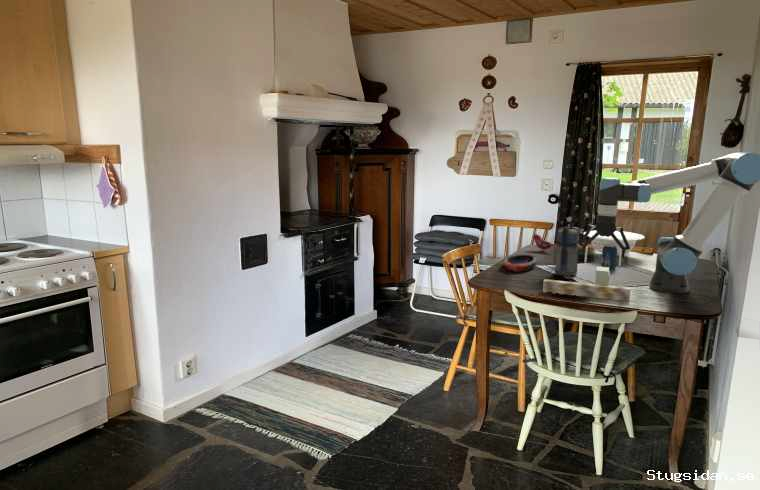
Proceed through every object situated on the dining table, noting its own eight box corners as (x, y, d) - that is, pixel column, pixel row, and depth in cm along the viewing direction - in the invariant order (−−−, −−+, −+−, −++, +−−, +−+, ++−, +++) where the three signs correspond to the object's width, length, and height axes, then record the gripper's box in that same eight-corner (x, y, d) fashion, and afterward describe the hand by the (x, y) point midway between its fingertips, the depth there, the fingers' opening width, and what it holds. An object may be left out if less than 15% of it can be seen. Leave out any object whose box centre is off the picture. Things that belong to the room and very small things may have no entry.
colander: (652, 257, 295) (654, 234, 292) (629, 266, 273) (631, 242, 271) (596, 248, 318) (597, 228, 315) (571, 256, 296) (572, 234, 294)
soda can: (613, 266, 272) (615, 244, 270) (617, 270, 265) (619, 246, 263) (599, 266, 273) (601, 244, 270) (603, 269, 266) (605, 246, 264)
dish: (542, 263, 282) (543, 254, 281) (525, 275, 256) (525, 265, 255) (514, 260, 290) (515, 251, 289) (494, 271, 265) (495, 262, 264)
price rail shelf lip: (629, 299, 217) (630, 287, 216) (629, 301, 213) (630, 289, 212) (543, 290, 231) (544, 279, 230) (542, 292, 227) (543, 281, 226)
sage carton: (595, 288, 233) (597, 266, 231) (608, 289, 231) (610, 267, 229) (594, 292, 226) (596, 270, 224) (607, 294, 224) (609, 271, 222)
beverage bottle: (550, 276, 255) (553, 225, 250) (558, 270, 265) (561, 221, 260) (572, 279, 249) (575, 227, 244) (579, 273, 260) (582, 223, 255)
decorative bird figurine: (533, 249, 317) (534, 233, 315) (559, 254, 303) (560, 237, 301) (530, 250, 315) (531, 233, 313) (557, 254, 302) (558, 237, 300)
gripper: (574, 213, 224) (571, 262, 228) (639, 217, 214) (634, 268, 218) (576, 211, 231) (572, 258, 235) (639, 215, 221) (634, 264, 225)
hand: (602, 263), depth 227 cm, fingers open, 13 cm apart
